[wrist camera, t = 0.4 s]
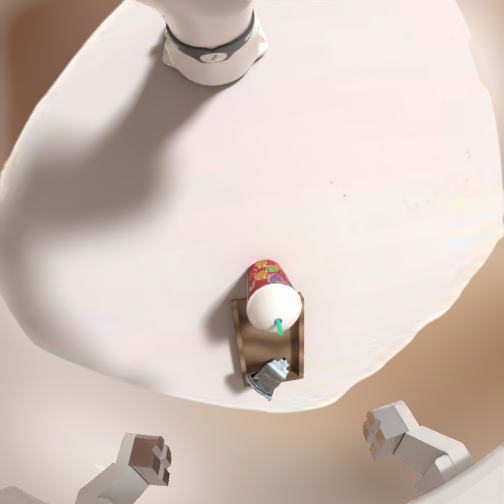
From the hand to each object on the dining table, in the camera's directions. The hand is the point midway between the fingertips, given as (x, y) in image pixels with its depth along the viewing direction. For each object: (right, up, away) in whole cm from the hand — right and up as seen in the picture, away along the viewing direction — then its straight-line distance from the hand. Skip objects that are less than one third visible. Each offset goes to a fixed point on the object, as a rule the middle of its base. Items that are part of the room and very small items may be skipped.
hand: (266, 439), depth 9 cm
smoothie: (+2, +3, +45) cm, 45 cm away
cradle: (+3, -12, +50) cm, 52 cm away
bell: (+3, -16, +52) cm, 55 cm away
